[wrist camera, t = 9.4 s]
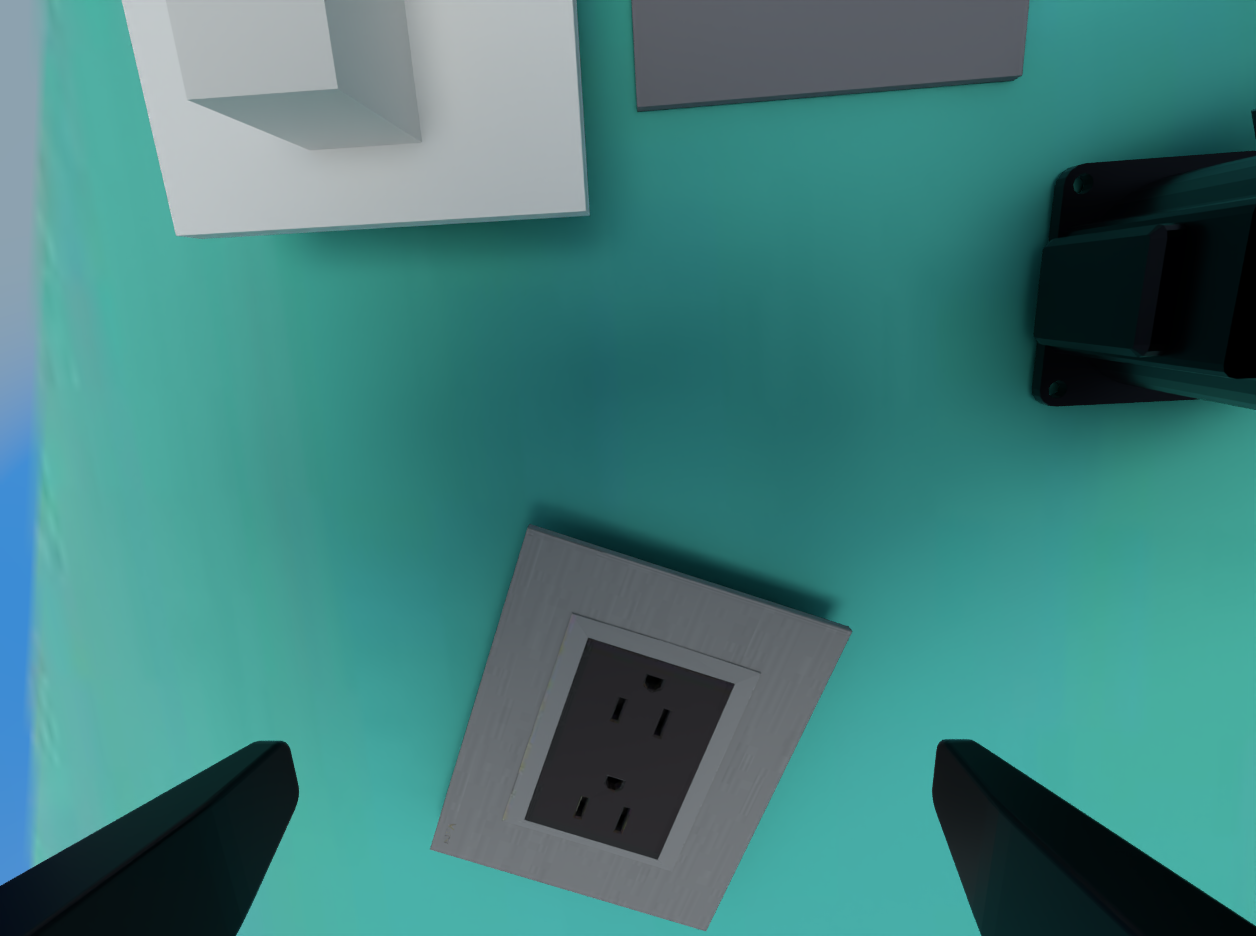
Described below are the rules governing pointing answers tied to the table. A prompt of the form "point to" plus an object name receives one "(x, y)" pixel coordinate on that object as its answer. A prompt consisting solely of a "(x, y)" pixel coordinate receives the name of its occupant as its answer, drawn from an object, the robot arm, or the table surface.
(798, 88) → the mat
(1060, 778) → the table surface
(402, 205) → the lid
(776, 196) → the table surface
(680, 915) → the electrical outlet
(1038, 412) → the table surface
